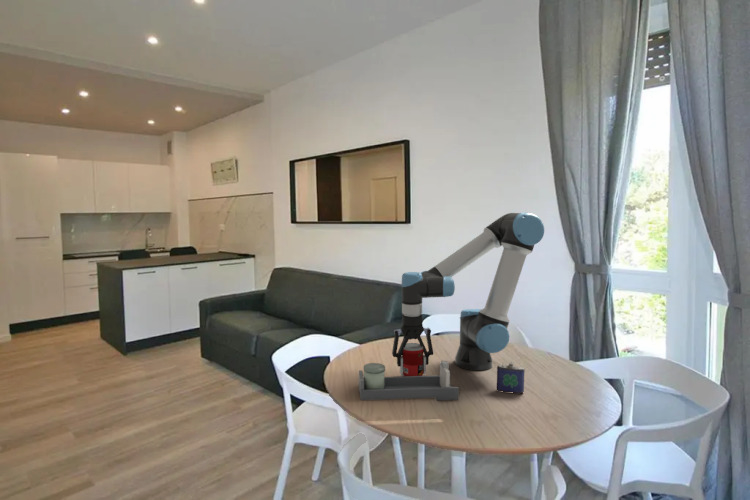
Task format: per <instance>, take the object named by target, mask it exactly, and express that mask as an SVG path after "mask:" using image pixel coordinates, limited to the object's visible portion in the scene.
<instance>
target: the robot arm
mask: <svg viewBox="0 0 750 500" xmlns="http://www.w3.org/2000/svg"><path fill="white" fill-rule="evenodd" d="M544 234H545V226H544V223H543V220H542V219H541V218H540V217H539V216H538V215H536V214H534V213H531V212H530V213H529V212H509V213H506V214H504V215H502V216H500V217H499V218H497V219H495V220H494V221H492V223H490V224H488V225H487V226H486V227H484V229H483V232H482V233H480V234H479V235H477V236H476V237H474V238H472V240H470V241H469V242H467V243H466V244H464V245H463V246H462V247H459V248H458V249H457V250H456V251H454V252H453V253H451V254H450V255H448V256H447V257H446V258H445V259H443V260H441V261H440V262H438V263H437V264H435V265H434V266H433V267H431V268H429V269H428V270H424V271H421V272H419V271H418V272H417V271H407V272H404V273H402V275H401V285H400V287H401V314H402V315H401V327H400V328H399V329H397V328H396V329H395V328H394V329H393V332H394V338H393V339H394V340H393V344H392V345H393V346H392V352H391V355H392V357H393V358H396V365H397V367H399V374H400V376H404V375H403V358H402V353H403V349H404V347H405V346H406V344H407V343H409V341H410V340H417V342H418V344H420V345H421V347H422V346H423V367H424V373H423V375H427V366H429V364H430V363H429V357H430V356H433V355H434V348H433V344H432V343H433V342H432V337H431V333H432V330H431V328H430V327H427V328H426V327H424V326H423V315H422V314H423V298H424V299H426V298H427V299H428V298H430V299H431V298H446V297H447V298H448V297H452V296H453V295H455V294H454V293H455V290H456V288H455V287H456V286H455V285H456V284H455V281H454V279H453V277H454V276H455V275H457V274H458V273H460V272H461V271H463V270H464V269H465V268H467V267H468V266H470V265H471V264H473V263H475V262H476V261H477V260H478V259H480V258H481V257H482V256H484V255H486V254H487V253H488V252H490V251H491V250H493V249H494V248H496V249H497V248H498V249H499V248H500V247H502V248H503V250H502V253H501V256H500V259H499V263H498V264H497V265H498V266H497V267H496V270H495V271H496V272H495V275H494V277H493V281H492V284H491V287H490V291H489V293H488V296H487V300H486V303H485V305H484V308H469V309H468V308H467V309H462V310H461V311H460V315H459V346H458V349H457V352H456V354H455V357H454V363H455V365H456V366H458V367H459V368H461V369H465V370H470V371H486V370H489V369H491V368H493V358H492V355H491V354H496V353H500V352H501V351H503V350H504V349H505V348H506V347H507V346H508V344H509V342H510V333H509V330H508V327H509V324H510V319H509V318H508V312H509V311H510V306H511V304H512V301H513V298H514V295H515V292H516V289H517V286H518V283H519V279H520V276H521V274H522V270H523V267H524V265H525V261H526V259H527V256H528V255H529V254H531V253H533V250H534V247H535V245H536V244H538V243H541V241H542V239H543V237H544ZM423 332H424V334H425V338H426V344H427V348H426V346H425V343H424V342H423V339H422V337H421V335H422V334H423ZM401 333H402V334H403V338H402V341H401V344H400V346H399V338H400V336H401ZM398 346H399V348H398ZM427 349H428V350H427Z"/></svg>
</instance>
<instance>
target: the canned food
mask: <svg viewBox="0 0 750 500" xmlns="http://www.w3.org/2000/svg"><path fill="white" fill-rule="evenodd" d="M423 355H424V352H423V346H422V347H421V345H420V343H419V342H417V343H416V342H407V344H406V346H405V347H404V349H403V353H402V358H403V376H424V374H423V373H424V367H423Z"/></svg>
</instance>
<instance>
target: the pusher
mask: <svg viewBox="0 0 750 500" xmlns="http://www.w3.org/2000/svg"><path fill="white" fill-rule="evenodd" d="M449 365H450V363H449V362H448V360H440V362H439V375H440V386H441V387H449V385H451V373H450V372H451V371H450V370H449V369H450V367H449Z"/></svg>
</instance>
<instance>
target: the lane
mask: <svg viewBox="0 0 750 500" xmlns="http://www.w3.org/2000/svg"><path fill="white" fill-rule="evenodd" d="M358 389H359V397H360V401H372V400H373V401H374V400H375V401H377V400H398V399H399V400H401V399H402V400H403V399H404V400H405V399H406V400H407V399H429V398H430V399H432V398H433V399H434V398H435V400H436V401H453V400H458V401H459V397H460V396H459V393H460V391H459V390H460V388H459V387H458V386H452V385H451V384H450V385H449V387H441V386H440V374H439V375H435V374H434V375H422V376H404V375H403V376H401V375H400V376H384V389H373V390H364V370H362V369H361V370H358Z"/></svg>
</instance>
